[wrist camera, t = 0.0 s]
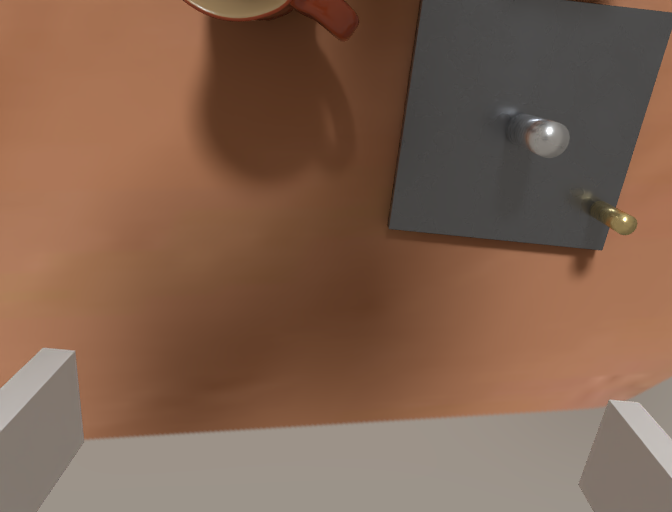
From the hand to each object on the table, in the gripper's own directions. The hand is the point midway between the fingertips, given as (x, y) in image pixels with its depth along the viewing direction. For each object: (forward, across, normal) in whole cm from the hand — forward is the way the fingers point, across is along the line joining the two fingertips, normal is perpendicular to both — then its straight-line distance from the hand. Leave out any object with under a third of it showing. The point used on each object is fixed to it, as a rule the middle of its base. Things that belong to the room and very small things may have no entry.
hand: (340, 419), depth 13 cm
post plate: (+28, +13, +5) cm, 31 cm away
